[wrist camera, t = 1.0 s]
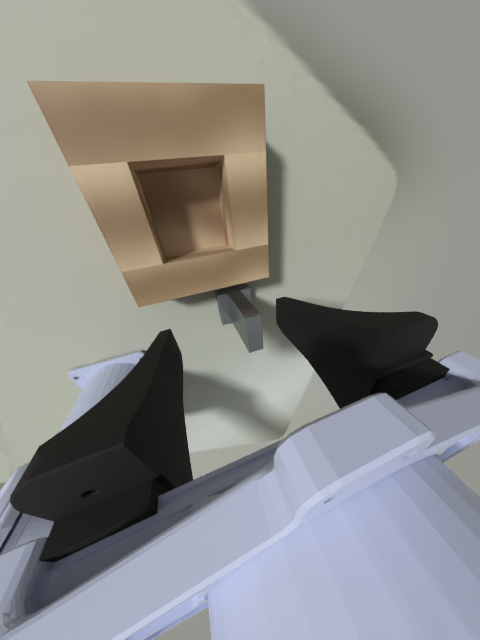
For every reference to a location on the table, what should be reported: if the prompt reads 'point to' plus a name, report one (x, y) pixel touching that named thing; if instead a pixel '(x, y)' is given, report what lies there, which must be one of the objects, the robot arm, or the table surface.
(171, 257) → the well block
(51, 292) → the table surface
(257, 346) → the grey block
